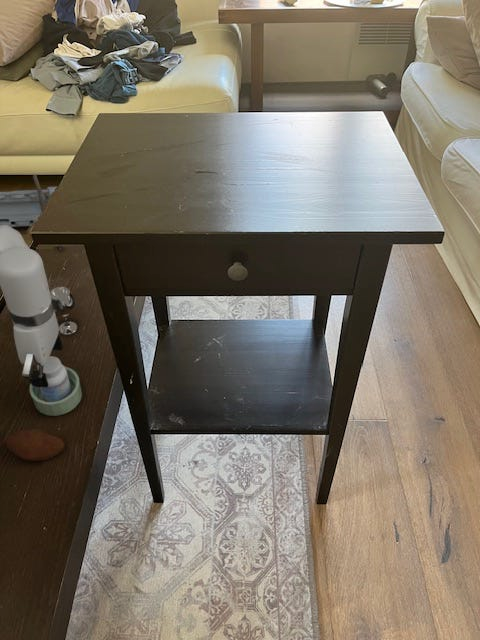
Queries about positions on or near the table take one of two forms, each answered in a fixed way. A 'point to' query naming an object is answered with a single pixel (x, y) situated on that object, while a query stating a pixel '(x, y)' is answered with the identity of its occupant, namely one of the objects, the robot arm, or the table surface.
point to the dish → (62, 405)
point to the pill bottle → (55, 381)
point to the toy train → (22, 206)
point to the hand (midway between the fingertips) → (48, 366)
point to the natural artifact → (40, 196)
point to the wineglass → (64, 308)
